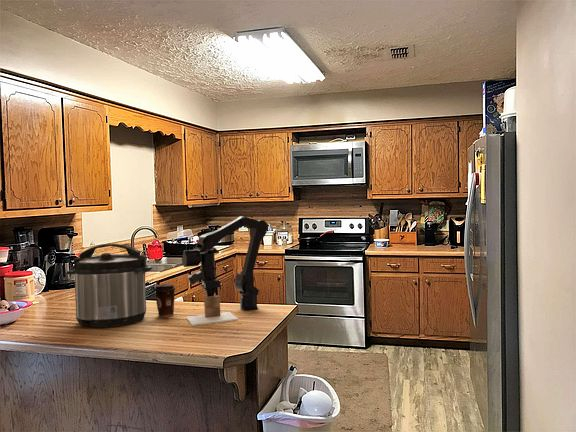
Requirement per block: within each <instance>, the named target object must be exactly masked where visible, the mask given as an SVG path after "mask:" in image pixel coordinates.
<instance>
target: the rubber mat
mask: <svg viewBox="0 0 576 432" xmlns="http://www.w3.org/2000/svg"><path fill="white" fill-rule="evenodd" d="M220 315H221V316H217V317H209V318H206V317H205V314H199V315H198V314H197V315H191V316H190V315H189V316H186V317H185V318H186V320H187V321H188V322H189V324H190V325H191V326H192V327H193V326H194V327H197V326H202V325H203V326H204V325H210V324H211V325H212V324H219V323H225V322H233V321H239V318H238V317H237V316H236V315H234V314H233V313H231V312H230V311H224V312H220Z"/></svg>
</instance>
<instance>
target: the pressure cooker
mask: <svg viewBox="0 0 576 432" xmlns="http://www.w3.org/2000/svg"><path fill="white" fill-rule="evenodd" d="M107 247H114V248H121V249H125V251H126V252H127V254H124V253H122V254H119V253H118V254H117V253H116V254H115V253H113V254H112V253H111V252H104V253H102V254H100V255H93V254H94V253H95V251H96V249H101V248H107ZM78 256H79V257H75V258H74V259H73V268H74V269H71V270H70V269H69V270H67V271H66V275H74V295H75V297H74V298H75V318H76V319H75V320H76V321H77V322H78V324H79V325H81V326H89V327H90V328H91V327H93V328H108V327H118V326H124V325H130V324H134V323H137V322H139V321H141V320H143V319H144V317H145V315H146V312H147V294H146V291H147V290H146V273H148V272H150V271H151V270H152V271H153V266H151V265H147V255H145V254H141V251H140V250H138V249H137V248H135V247H133V246H130V245H126V244H119V243H105V244H99V245H95V246H91V247H90V248H88V249H85V250H84V251H82V252H81V253H79V255H78Z"/></svg>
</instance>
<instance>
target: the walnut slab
mask: <svg viewBox="0 0 576 432" xmlns="http://www.w3.org/2000/svg"><path fill="white" fill-rule="evenodd" d="M203 303H204V304H203V306H204V315H205V317H206V318H209V317H217V316H221V315H220V313H221V296H220V295H214V296H209V297H207V296H204V297H203Z"/></svg>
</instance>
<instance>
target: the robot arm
mask: <svg viewBox="0 0 576 432" xmlns="http://www.w3.org/2000/svg"><path fill="white" fill-rule="evenodd" d="M243 227H244V228H246V229H248V230H249V231H248V233H249V238H250V239H249V243H248V246H247V252H246V255H245V258H244V262H243V268H242V270H241V271H240V273H239V272H238V273H236V276H235V280H234V285H235V288H236V290H237V291H238V292H239V294H240V298H239V305H240V309H242V310H243V311H253V310H259V307H258V295H259V293H260V290H259V288H257V286H255V278H254V271H255V266H256V264H257V263H256V262H257V257H258V254H259V250H260V245H261V242H262V240H263V239H264V238H265V236H266V234H267V232H268V230H269V224H268V223H267V221H266V220H262V219H253V218H250V217H248V216H243V215H241V216H238V217H237V218H236V219H234V220H232V221H230V222H229V223H226V224H225V225H223V226H222V227H219V228H218V229H217V230H213V231H210V232H207V233H206V232H205V233H204V234H201V235H200V236H199V237H198V240H197V244H196V245H195V247H194V248H193V249H190V250H188V249H187V250H183V253H182V257H181V264H182V266H183V267H184V268H188V267H189V268H190V267H198V266H199V265H200V267H199V271H196V272H194V273H192V274H190V275H187V279H188V281H189V284H190V285H194V284H196V283H198V284H200V287H202V288H203V289H204V292H205V295H206V296H205V297H209V296H215V293H216V290H217V288H221V287H222V284H221V281H220V280H219V279H218V278H217V276H216V270H217V267H216V262H215V260H216V259H215V255H216V254H219V253H220V250H218V249H217V248H216V247H215V246H217V245H218V244H219V243H220V242H221V240H223V239H224V238H226V237H228V236H229V235H230V234H233V233H234V232H236V231H238V230H239V229H240V228H243ZM201 283H202V284H201Z"/></svg>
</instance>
